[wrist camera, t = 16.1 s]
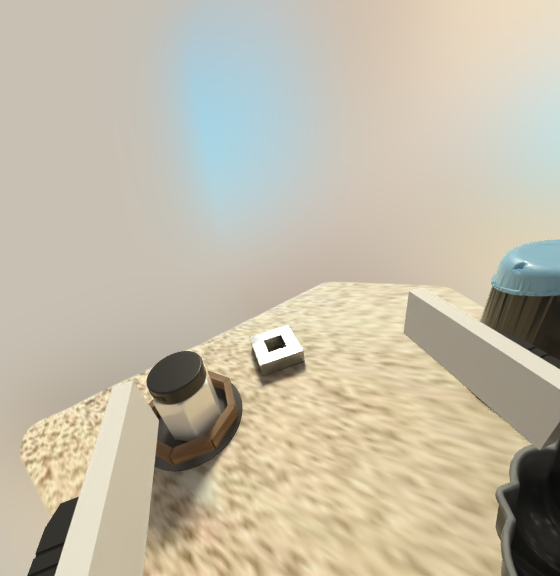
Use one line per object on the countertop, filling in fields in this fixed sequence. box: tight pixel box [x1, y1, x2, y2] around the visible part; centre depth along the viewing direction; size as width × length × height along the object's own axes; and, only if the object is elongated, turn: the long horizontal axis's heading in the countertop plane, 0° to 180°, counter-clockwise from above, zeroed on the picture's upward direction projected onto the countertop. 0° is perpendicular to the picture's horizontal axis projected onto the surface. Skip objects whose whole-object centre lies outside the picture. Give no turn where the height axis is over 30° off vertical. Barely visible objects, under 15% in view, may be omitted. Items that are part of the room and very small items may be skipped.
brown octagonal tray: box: [149, 371, 242, 471], centre depth 45 cm, size 17×17×3 cm
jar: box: [147, 351, 221, 441], centre depth 42 cm, size 9×8×12 cm
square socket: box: [250, 325, 304, 376], centre depth 55 cm, size 9×9×3 cm
